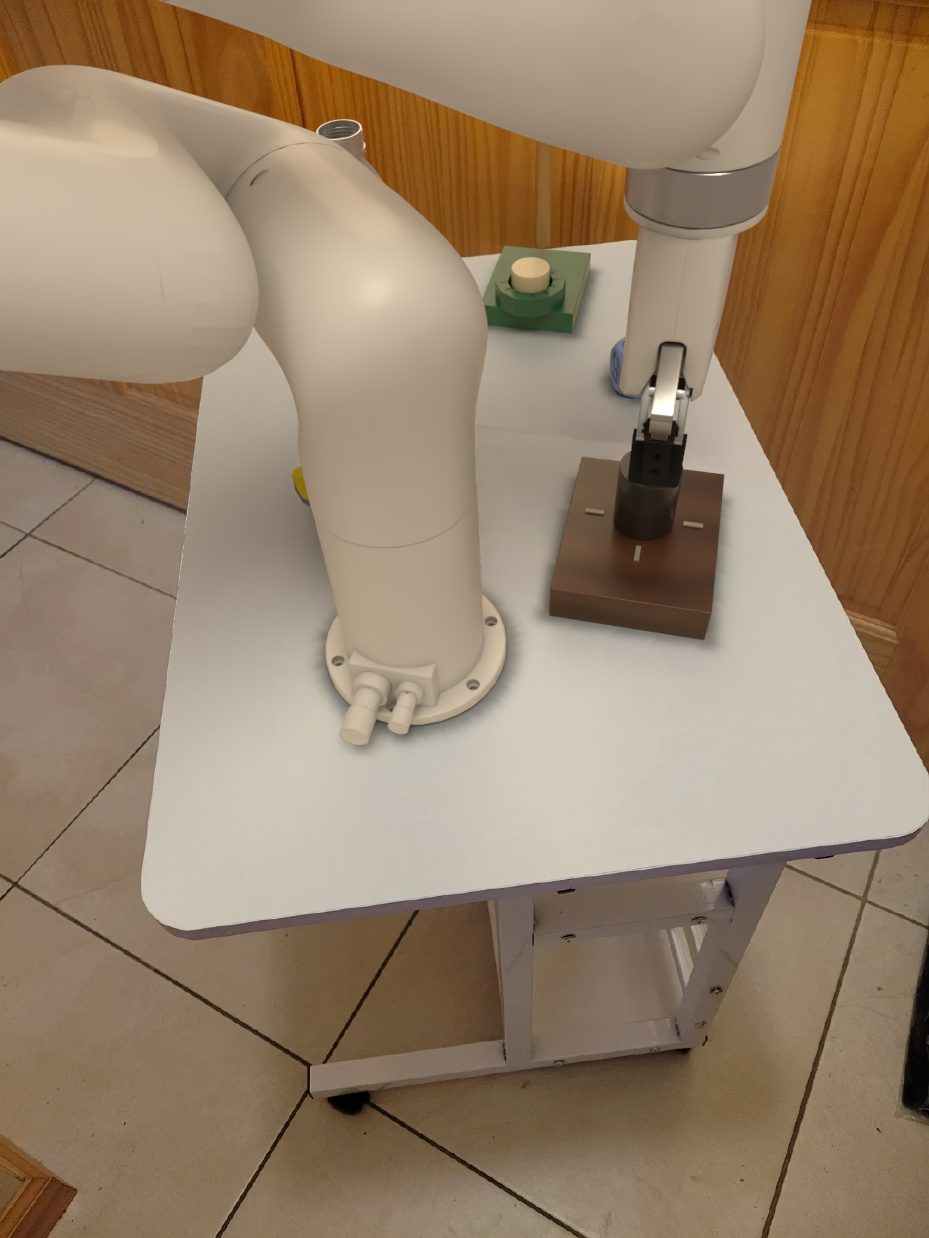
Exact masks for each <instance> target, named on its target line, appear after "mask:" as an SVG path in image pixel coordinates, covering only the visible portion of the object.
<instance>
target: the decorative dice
mask: <svg viewBox="0 0 929 1238" xmlns="http://www.w3.org/2000/svg"><path fill="white" fill-rule="evenodd" d="M625 337H626V336H624V337H622V338H621V339H619V340H617V342H616V343H615V344H614V345H613V346H612V347H611V349H610V354H609V372H610V373H609V374H610V378H611V383H612V386H613V388H614V390H615V391H616V392H617V393H619V394H620V395H622V396H624V397H627V398H631V399H632V398H634V399H642V391H641V393H640V394H639V395H638V396H636V395H630V394H629V395H625V394H624V393H623V392H622V391H621V389H620V387H619V386H620V379H621V371H622V363H623V354H624V346H625Z"/></svg>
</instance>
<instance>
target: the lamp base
mask: <svg viewBox="0 0 929 1238" xmlns="http://www.w3.org/2000/svg"><path fill="white" fill-rule="evenodd" d="M591 256H592V254H591V252H583V251H573V250H572V251H571V250H559V249H547V248H544V249H542V248H537V247H536V248H535V247H524V246H523V247H522V246H511V245H503V247H502V250H501V253H500V255H499V257H498V259H497V262H496V265H495V267H494V270H493V272H492V275H491V277H490V280H489V282H488V284H487V287H486V289H485V291H484V295H483V296H482V299H483V303H484V306H485V311H486V316H487V326H490V327H491V326H492V327H503V328H510V329H511V328H512V329H522V330H531V331H532V330H533V331H540V332H541V331H542V332H552V333H563V334H573V332H574V328H575V325H576V321H577V318H578V315H579V311H580V307H581V303H582V300H583V296H584V293H585V290H586V286H587V283H588V279H589V276H590V270H591ZM527 257H535V258H540V259H543V260H545V261H546V262H548V264H549V266H550V281H549V286H548V288H547V289H545V290H544V291H541V292H536V293H524V292H519V291H517V290H514V289H513V287H512V285H511V267H512V265H513V263H514V262H516V261H517V260H519V259H522V258H527Z"/></svg>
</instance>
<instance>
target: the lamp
mask: <svg viewBox="0 0 929 1238" xmlns="http://www.w3.org/2000/svg"><path fill="white" fill-rule="evenodd" d="M536 161H537V163H536V166H537V167H536V218H535V219H536V221H535V246H536V248H537V249H547V248H549V247H550V246H551V231H552V229H551V228H552V227H551V226H552V201H553V199H552V197H553V169H554V168H553V166H554V162H553V161H554V146H553V145H549V144H546V143H543V142H540V141H537V160H536Z"/></svg>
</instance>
